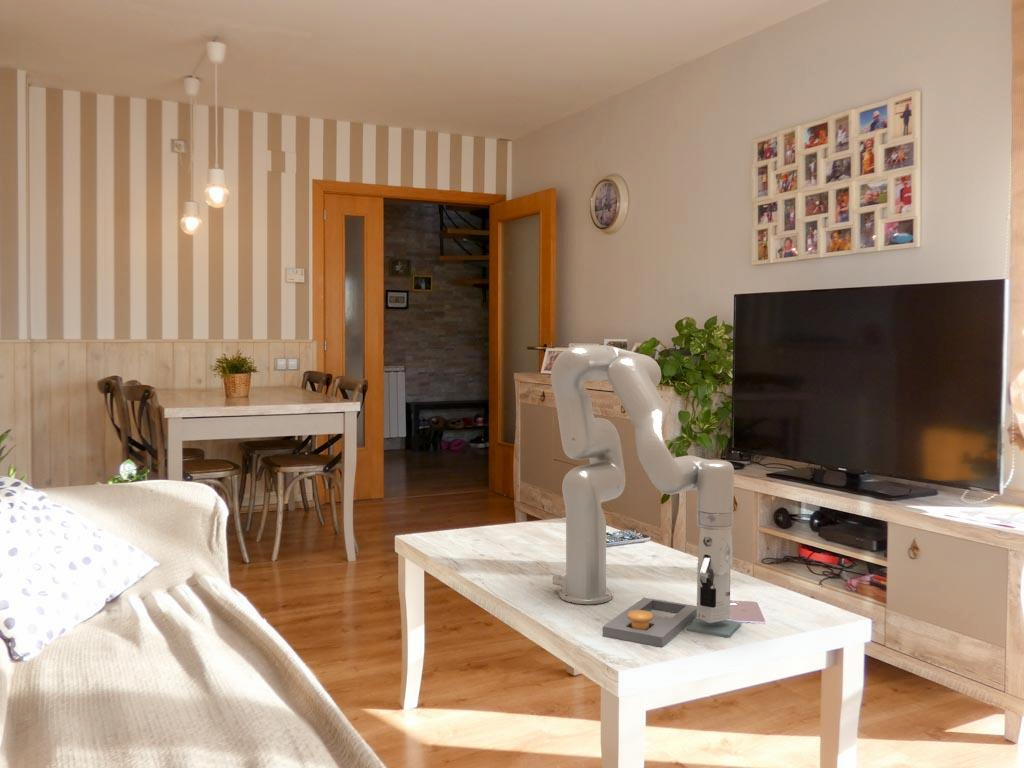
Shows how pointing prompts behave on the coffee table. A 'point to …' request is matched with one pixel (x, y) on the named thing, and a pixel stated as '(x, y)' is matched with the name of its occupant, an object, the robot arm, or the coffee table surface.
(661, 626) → the housing
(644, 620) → the plunger
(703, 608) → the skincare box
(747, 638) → the coffee table surface
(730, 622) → the mat
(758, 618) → the mobile phone
